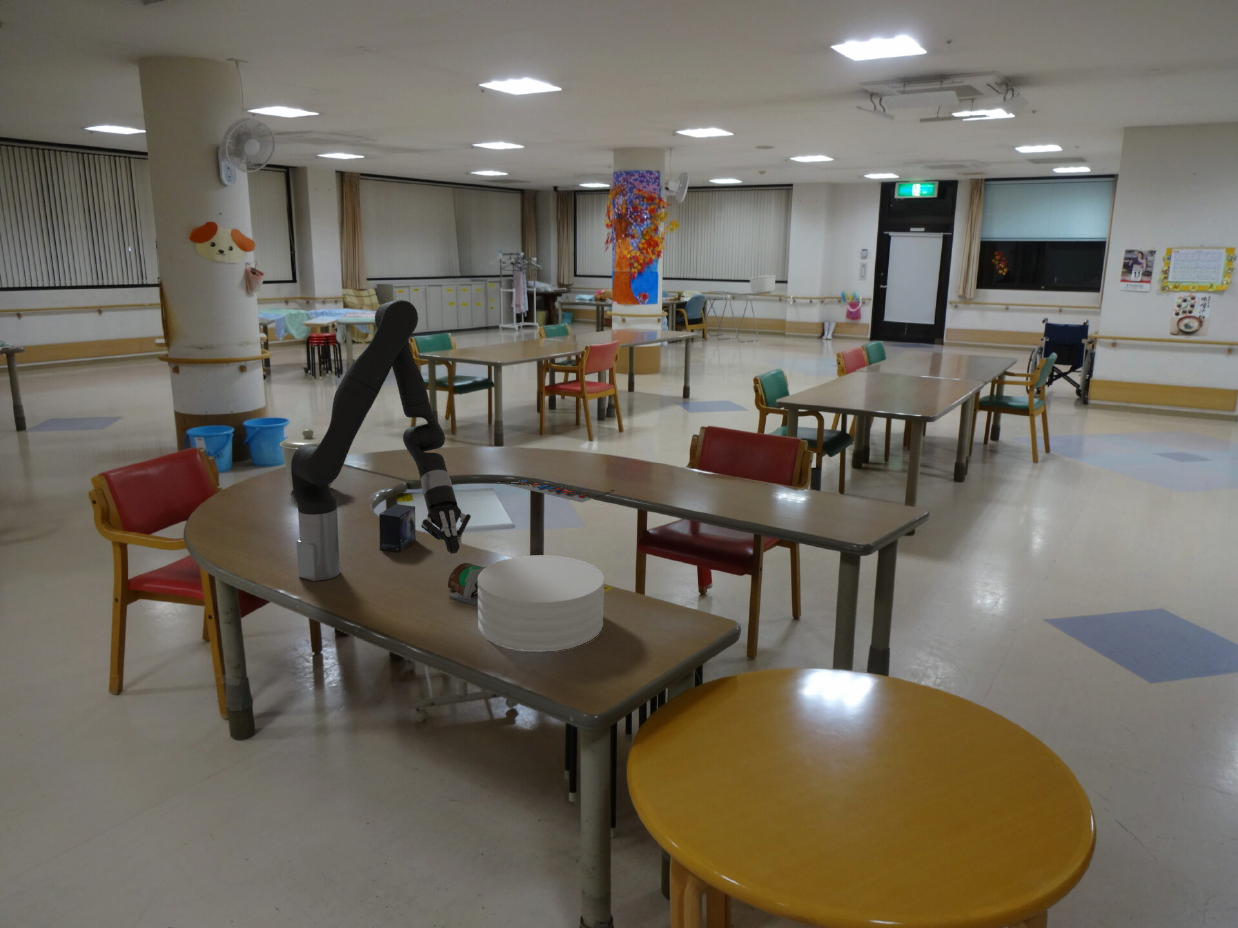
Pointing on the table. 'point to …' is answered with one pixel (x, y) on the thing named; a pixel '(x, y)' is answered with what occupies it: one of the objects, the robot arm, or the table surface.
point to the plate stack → (540, 602)
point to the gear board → (551, 491)
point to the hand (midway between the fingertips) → (454, 552)
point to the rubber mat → (460, 598)
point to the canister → (293, 444)
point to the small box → (397, 527)
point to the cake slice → (465, 579)
